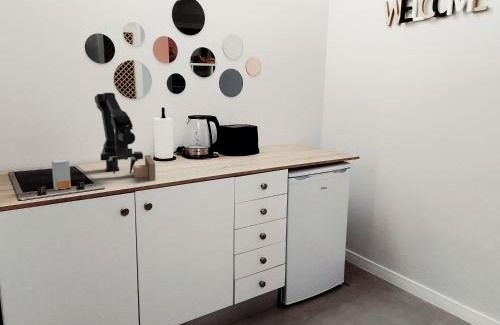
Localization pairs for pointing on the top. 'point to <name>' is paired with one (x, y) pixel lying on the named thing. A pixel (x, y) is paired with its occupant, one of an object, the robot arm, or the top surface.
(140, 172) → the terracotta block
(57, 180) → the skincare box
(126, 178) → the top surface
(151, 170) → the walnut board
